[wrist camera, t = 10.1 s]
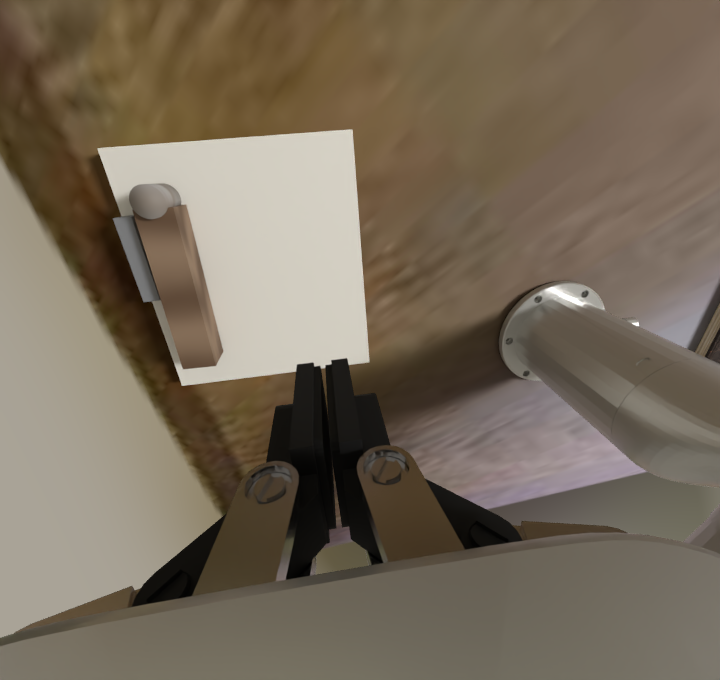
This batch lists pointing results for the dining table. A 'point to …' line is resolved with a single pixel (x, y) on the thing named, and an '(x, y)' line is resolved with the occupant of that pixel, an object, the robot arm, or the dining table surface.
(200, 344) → the folding leg
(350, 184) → the white flat square panel
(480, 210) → the dining table surface
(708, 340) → the hardcover book
